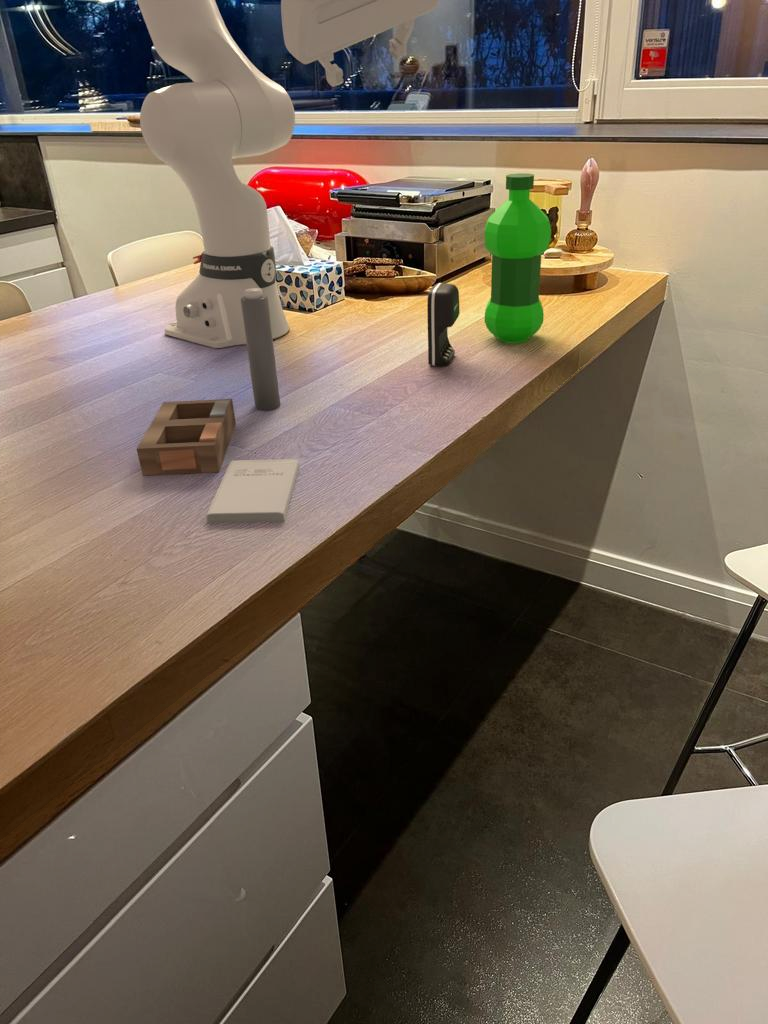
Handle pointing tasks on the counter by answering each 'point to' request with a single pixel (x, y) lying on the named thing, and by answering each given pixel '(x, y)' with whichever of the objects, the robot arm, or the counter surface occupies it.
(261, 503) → the external hard drive
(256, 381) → the plug
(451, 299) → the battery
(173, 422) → the dock
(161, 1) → the robot arm
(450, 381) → the counter surface
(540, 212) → the plastic bottle
